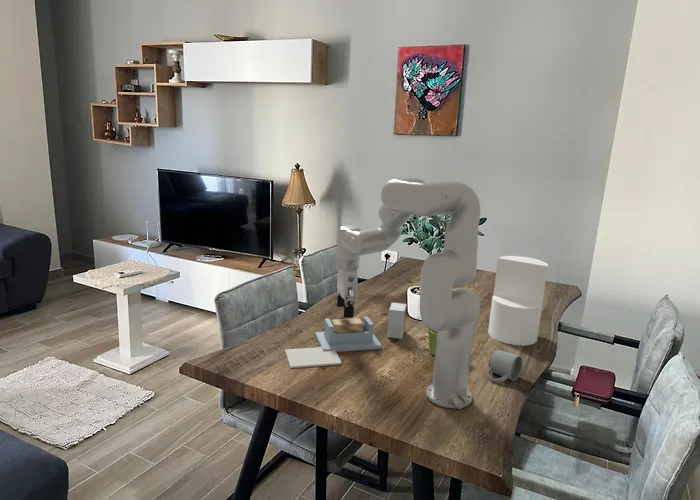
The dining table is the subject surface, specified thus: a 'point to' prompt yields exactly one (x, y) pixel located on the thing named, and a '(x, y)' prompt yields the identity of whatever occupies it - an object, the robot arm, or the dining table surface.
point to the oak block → (347, 325)
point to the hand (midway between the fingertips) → (344, 311)
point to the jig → (348, 338)
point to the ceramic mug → (504, 366)
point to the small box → (396, 320)
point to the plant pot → (432, 341)
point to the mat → (311, 357)
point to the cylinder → (517, 300)
